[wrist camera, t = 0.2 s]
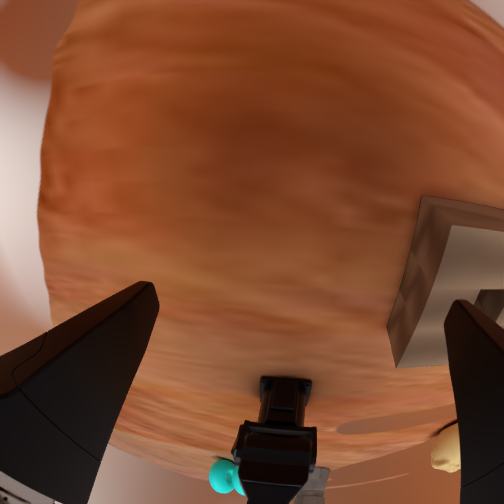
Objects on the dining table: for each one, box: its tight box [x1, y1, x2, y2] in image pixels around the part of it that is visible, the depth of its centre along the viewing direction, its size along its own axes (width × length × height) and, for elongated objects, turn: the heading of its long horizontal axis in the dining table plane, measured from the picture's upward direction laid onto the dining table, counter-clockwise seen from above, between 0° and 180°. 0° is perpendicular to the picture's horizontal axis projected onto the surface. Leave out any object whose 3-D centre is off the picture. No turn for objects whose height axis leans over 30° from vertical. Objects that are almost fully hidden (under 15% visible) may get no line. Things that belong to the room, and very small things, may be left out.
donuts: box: [209, 460, 245, 495], centre depth 51 cm, size 10×10×10 cm
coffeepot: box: [294, 467, 330, 504], centre depth 47 cm, size 15×9×18 cm, turn 32°
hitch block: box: [387, 196, 504, 368], centre depth 19 cm, size 14×14×6 cm
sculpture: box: [431, 423, 461, 473], centre depth 32 cm, size 12×12×11 cm
